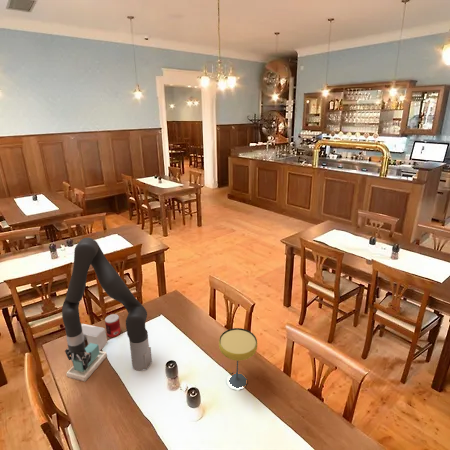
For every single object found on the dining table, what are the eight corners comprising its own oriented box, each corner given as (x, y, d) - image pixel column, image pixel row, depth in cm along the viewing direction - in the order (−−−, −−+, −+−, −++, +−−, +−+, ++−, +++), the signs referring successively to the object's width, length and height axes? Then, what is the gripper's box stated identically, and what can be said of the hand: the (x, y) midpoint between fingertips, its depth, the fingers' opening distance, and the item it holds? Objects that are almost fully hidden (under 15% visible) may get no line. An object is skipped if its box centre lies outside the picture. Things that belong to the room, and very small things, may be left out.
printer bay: (107, 342, 179) (105, 327, 175) (99, 351, 172) (96, 336, 169) (85, 337, 183) (82, 323, 179) (76, 346, 176) (73, 331, 172)
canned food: (122, 329, 190) (120, 314, 186) (117, 338, 182) (115, 322, 179) (110, 328, 190) (108, 313, 187) (104, 337, 183) (102, 321, 179)
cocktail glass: (241, 403, 142) (243, 360, 134) (211, 383, 152) (210, 342, 144) (262, 378, 156) (264, 337, 147) (232, 361, 166) (233, 322, 157)
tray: (107, 356, 169) (106, 352, 168) (85, 381, 153) (84, 377, 152) (90, 352, 172) (89, 348, 171) (67, 376, 156) (66, 372, 155)
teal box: (99, 353, 167) (98, 343, 165) (83, 372, 155) (81, 361, 153) (91, 351, 168) (90, 342, 166) (74, 369, 157) (72, 359, 154)
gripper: (93, 338, 153) (97, 365, 159) (69, 332, 157) (74, 359, 162) (83, 348, 146) (88, 376, 152) (57, 342, 150) (63, 369, 156)
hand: (80, 367), depth 157 cm, fingers closed on teal box, 5 cm apart
